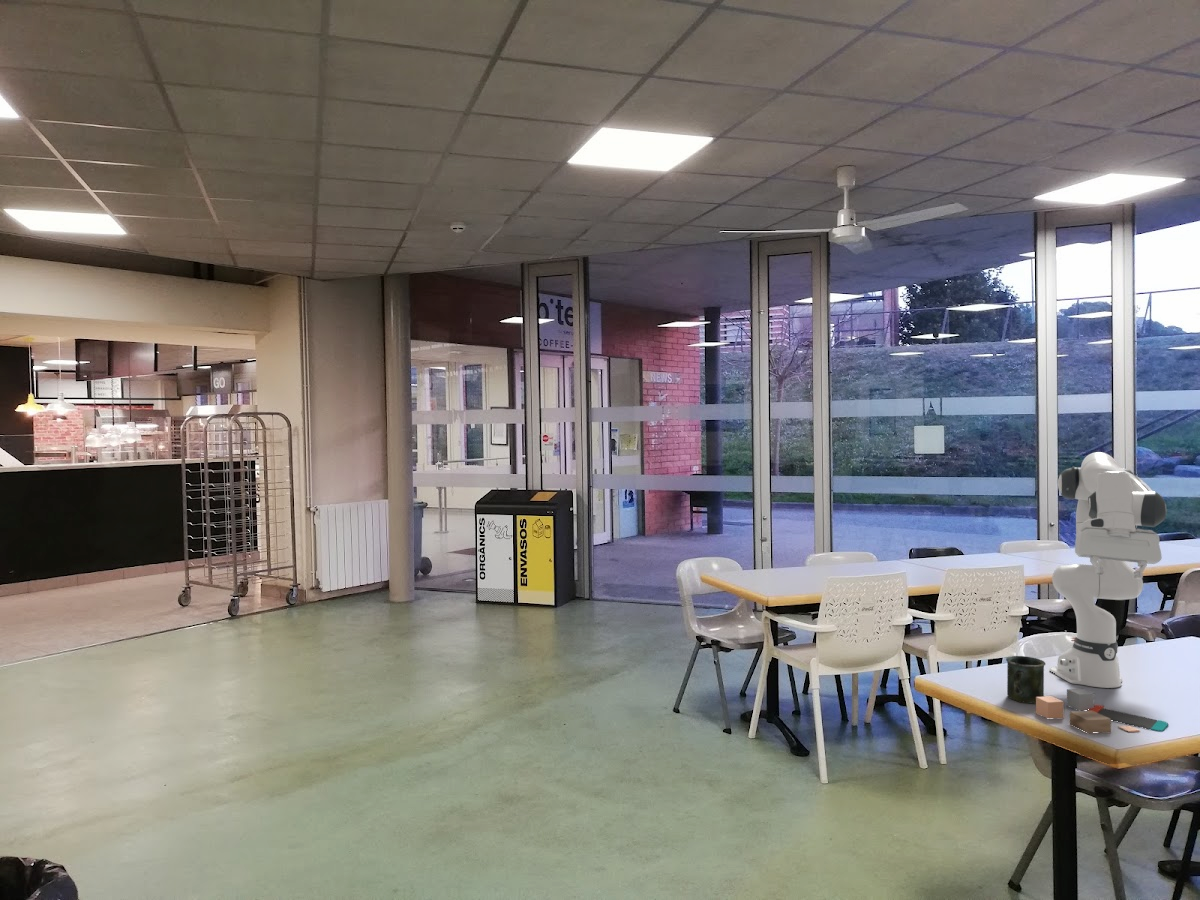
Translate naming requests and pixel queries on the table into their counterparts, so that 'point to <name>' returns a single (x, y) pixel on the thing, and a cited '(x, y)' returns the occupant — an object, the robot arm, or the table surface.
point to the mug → (1025, 678)
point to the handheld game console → (1131, 719)
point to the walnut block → (1090, 721)
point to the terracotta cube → (1049, 707)
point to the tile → (1129, 728)
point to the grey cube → (1080, 699)
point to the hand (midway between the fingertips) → (1118, 576)
